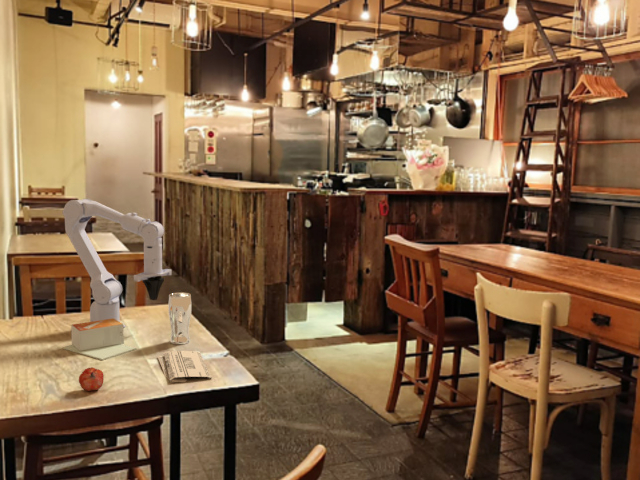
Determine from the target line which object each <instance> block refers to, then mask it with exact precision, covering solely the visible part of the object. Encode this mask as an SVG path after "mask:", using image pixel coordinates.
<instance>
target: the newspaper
mask: <svg viewBox="0 0 640 480" xmlns="http://www.w3.org/2000/svg"><path fill="white" fill-rule="evenodd" d="M157 358H158V361H159V363H160V366H161V368H162V371H163V374H164V377H165V378H167V379H168V380H169V383H173V384H174V383H178V382H179V383H185V382H188V380H187V378H191V377H192V378H196V377H198V378H207V379H208V380H211V379H212V377H211V374H210V372H209V370H208V367H207V365H206V362H205V360H204V358H203V355H202V354H201V352H200V351H197V350H174V351H173V350H172V351H171V350H170V351H166V352H163V355H157Z"/></svg>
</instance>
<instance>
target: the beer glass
mask: <svg viewBox="0 0 640 480" xmlns="http://www.w3.org/2000/svg"><path fill="white" fill-rule="evenodd" d="M167 305H168V306H167V307H168V318H169V322H170V329H171V330H170V331H171V333H170V341H169V343H170V344H173V345H176V346H177V345H185V344H189V343H191V337H190V322H191V317H192V296H191V293H189V292H173V293H170V294H168V304H167Z"/></svg>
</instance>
